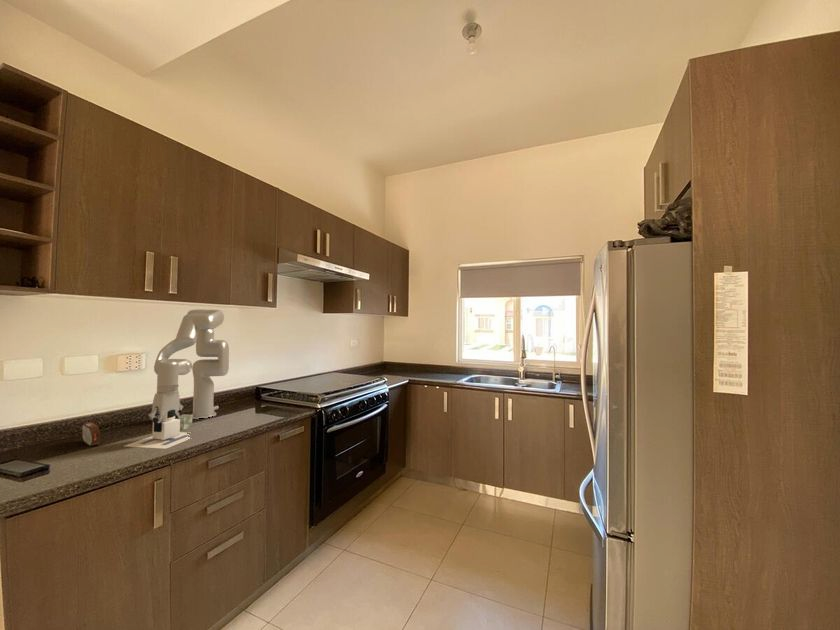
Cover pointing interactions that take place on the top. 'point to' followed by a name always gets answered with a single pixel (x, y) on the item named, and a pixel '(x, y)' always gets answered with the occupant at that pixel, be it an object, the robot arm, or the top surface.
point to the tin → (91, 434)
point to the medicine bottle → (168, 427)
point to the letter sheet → (160, 441)
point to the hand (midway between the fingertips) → (166, 428)
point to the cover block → (185, 421)
